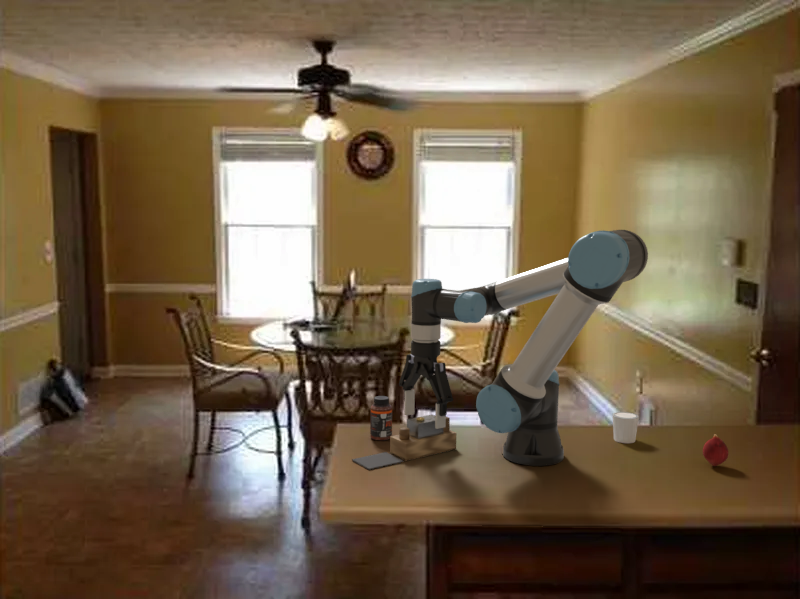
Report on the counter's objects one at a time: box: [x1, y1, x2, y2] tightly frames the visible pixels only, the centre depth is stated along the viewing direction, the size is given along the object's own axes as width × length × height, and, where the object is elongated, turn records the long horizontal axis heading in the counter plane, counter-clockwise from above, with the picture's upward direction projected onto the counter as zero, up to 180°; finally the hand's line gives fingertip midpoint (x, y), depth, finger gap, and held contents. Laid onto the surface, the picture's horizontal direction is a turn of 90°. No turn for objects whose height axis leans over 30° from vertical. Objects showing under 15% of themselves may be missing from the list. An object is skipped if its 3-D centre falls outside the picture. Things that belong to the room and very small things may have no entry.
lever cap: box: [406, 414, 443, 439], centre depth 199 cm, size 5×8×4 cm, turn 124°
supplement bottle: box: [369, 395, 393, 442], centre depth 210 cm, size 6×6×11 cm
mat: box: [351, 451, 404, 471], centre depth 192 cm, size 8×10×1 cm
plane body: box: [389, 416, 457, 462], centre depth 199 cm, size 16×7×8 cm, turn 124°
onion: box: [702, 433, 729, 467], centre depth 189 cm, size 6×6×8 cm
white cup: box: [612, 411, 640, 444], centre depth 209 cm, size 7×7×7 cm
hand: (424, 421), depth 199 cm, fingers open, 13 cm apart
